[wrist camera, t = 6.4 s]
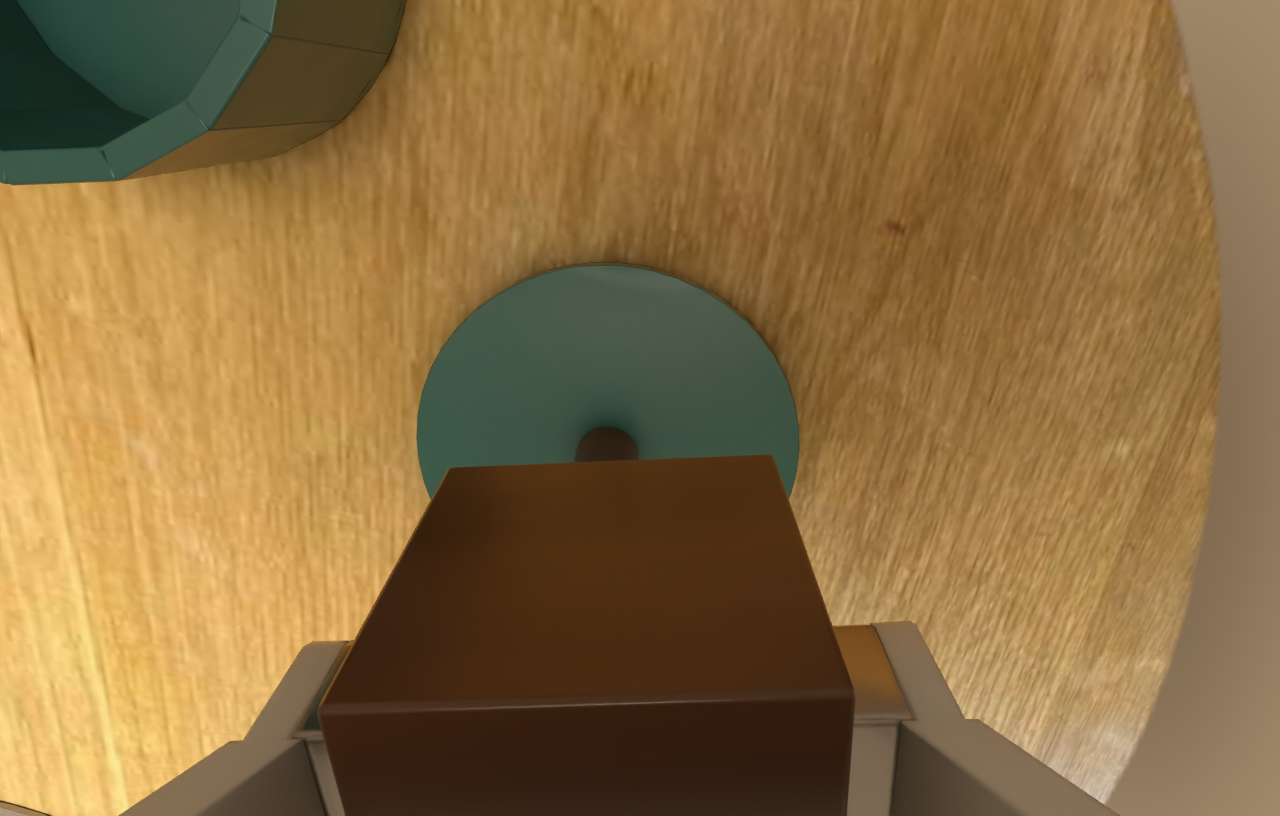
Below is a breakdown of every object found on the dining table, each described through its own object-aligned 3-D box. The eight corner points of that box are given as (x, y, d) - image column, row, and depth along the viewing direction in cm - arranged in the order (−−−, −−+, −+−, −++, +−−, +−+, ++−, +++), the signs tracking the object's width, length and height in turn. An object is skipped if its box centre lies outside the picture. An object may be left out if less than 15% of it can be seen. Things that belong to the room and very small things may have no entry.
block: (446, 465, 10) (309, 710, 6) (774, 451, 10) (859, 694, 6) (488, 715, 12) (403, 1039, 8) (769, 706, 12) (833, 1031, 8)
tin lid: (396, 265, 27) (336, 305, 22) (802, 251, 27) (839, 288, 21) (450, 599, 33) (413, 693, 27) (787, 591, 32) (813, 686, 27)
